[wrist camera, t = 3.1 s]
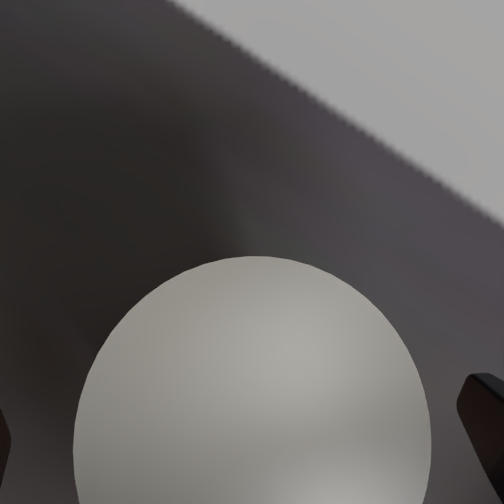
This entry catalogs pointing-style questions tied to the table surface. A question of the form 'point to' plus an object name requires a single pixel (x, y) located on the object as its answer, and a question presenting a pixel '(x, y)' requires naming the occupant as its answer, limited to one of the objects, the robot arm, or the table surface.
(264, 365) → the canister
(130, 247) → the table surface
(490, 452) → the robot arm
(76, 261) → the table surface
